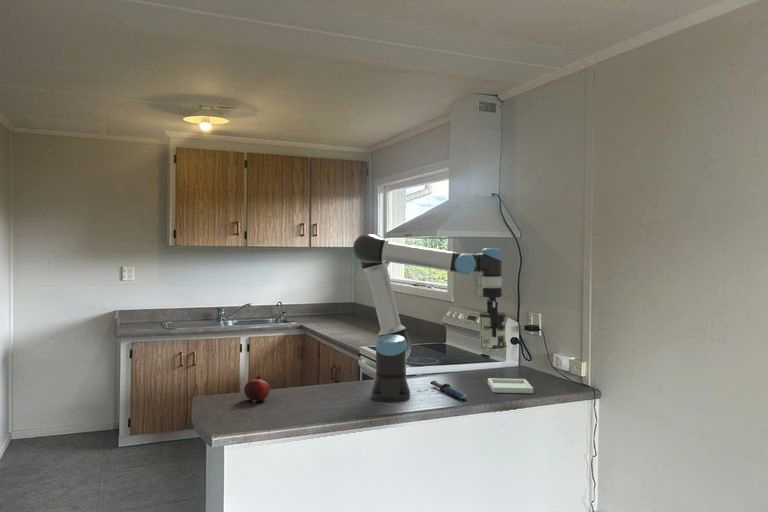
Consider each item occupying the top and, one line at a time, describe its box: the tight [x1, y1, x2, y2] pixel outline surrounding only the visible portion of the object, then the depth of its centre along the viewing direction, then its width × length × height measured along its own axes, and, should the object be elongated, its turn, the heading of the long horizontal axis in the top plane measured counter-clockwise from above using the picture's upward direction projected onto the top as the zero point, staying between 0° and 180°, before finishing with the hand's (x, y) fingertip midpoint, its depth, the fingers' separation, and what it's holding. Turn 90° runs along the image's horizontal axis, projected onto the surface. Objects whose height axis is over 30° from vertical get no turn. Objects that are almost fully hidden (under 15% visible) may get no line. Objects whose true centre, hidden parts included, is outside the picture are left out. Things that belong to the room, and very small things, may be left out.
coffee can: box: [478, 311, 507, 352], centre depth 230 cm, size 10×10×14 cm
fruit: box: [243, 373, 270, 403], centre depth 217 cm, size 9×10×10 cm
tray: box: [487, 377, 534, 394], centre depth 240 cm, size 16×16×2 cm
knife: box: [429, 380, 468, 400], centre depth 231 cm, size 24×3×5 cm
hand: (492, 342), depth 230 cm, fingers closed on coffee can, 10 cm apart
